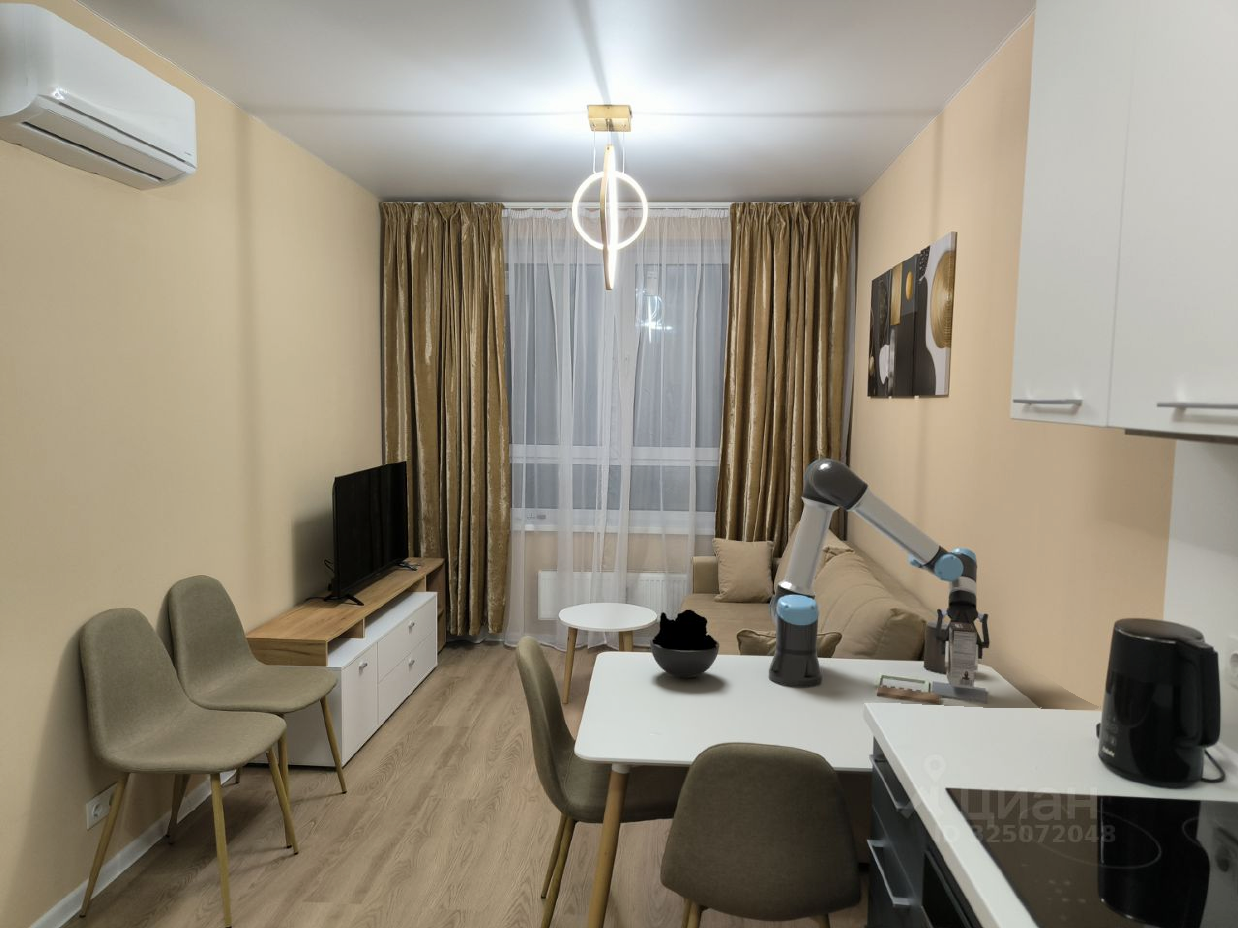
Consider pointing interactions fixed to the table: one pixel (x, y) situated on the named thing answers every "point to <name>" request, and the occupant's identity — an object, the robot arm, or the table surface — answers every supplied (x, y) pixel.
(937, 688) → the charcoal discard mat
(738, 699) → the table surface
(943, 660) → the pillar candle
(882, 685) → the sage stub frame
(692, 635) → the coal bowl
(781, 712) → the table surface
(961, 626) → the coffee box
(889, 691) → the walnut ticket board
